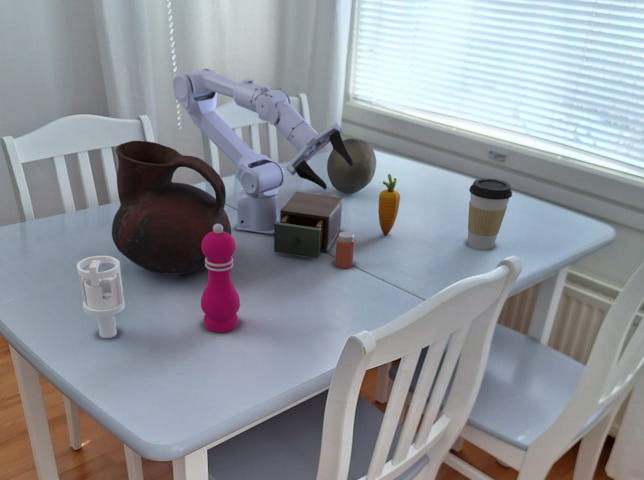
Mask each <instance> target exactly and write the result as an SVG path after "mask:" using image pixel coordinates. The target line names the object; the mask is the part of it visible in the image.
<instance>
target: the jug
mask: <svg viewBox="0 0 644 480" xmlns="http://www.w3.org/2000/svg"><path fill="white" fill-rule="evenodd" d="M115 154H116V156H117V161H118V162H117V165H118V168H117V172H116V188H117V194H118V199H119V207H118V210H117V211H116V213H115V215H114V217H113V220H112V225H111V238H112V241H113V244H114V246H116V249H117V250H118V251H119V253H120V254H122V255H123V256H124V257H125V258H126V259H127V260H129V261H130V262H132V263H134V264H135V265H136V266H139V267H140V268H142V269H145V270H147V271H149V272H153V273H157V274H163V275H185V274H192V273H196V272H198V271H201V270H203V269H205V268H206V267H205V263H206V262H205V258H206V256H205V255H204V254H203V252H202V248H201V245H202V240H203V238H204V237H205V236H206V235H207V234H208V233H210V232H212V231H213V226H214V225H215V224H221V225H222V226H223V231H224V232H227V233H229V234H230V235H231V236H232V226H231V222H230V219H229V216H228V214H227V212H226V210H225V205H226V197H227V191H226V186H225V185H226V184H225V182H224V181H223V179H222V177H221V176H220V174H219V173H218V172H217V171H216V170H215V168H214V167H212V166H211V165H210V164H209V163H207V162H206V161H205V160H204V159H201V158H200V157H197V156H193V155H186V154H184V155H183V154H181V152H179V151H178V150H176V149H175V148H173V147H170V146H167V145H163V144H161V143H157V142H155V141H154V142H153V141H148V140H147V141H146V140H130V141H127V142H123V143H120V144H118V145H117V146H116V147H115ZM178 168H187V169H191V170H193V171H195V172H196V173H198V174H199V175H200V176H201V177H202V178H203V179H205V180H206V182H208V183H209V185H210V186H211V187H212V188H213V192H214V195H215V197H214V196H213V195H212V194H211V193H209V192H208V191H206V190H203V189H202V188H199V187H197V186H195V185H192V184H189V183H183V182H176V181H175V182H173V177H174V174H175V172H176V171H177V169H178Z"/></svg>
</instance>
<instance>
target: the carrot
mask: <svg viewBox="0 0 644 480" xmlns="http://www.w3.org/2000/svg"><path fill="white" fill-rule="evenodd" d="M387 179H388V181H386V180H383V181H382V184H383V185H385V186H386V188H387V189H386V188H385V189H384V190H382V191H381V192H380V193H379V195H378V197H379V198H378V222H379V227H380V230H381V233H382V235H383V236H384V237H386V236H387V235H389V233H390V232H391V230H392V229H393V228H394V226H395V223H396V219H397V217H398V213H399V208H400V207H399V206H400V200H401V194H400V193H399V192H398V191H397V190H396V189H395V187H396V185H397V177H394V178H393V177H392V174H391V173H388V174H387Z"/></svg>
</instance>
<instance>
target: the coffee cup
mask: <svg viewBox="0 0 644 480" xmlns="http://www.w3.org/2000/svg"><path fill="white" fill-rule="evenodd" d="M468 191H469V193H470V199H469V202H468V218H467V219H468V220H467V230H468V231H467V245H468V246H469V247H470V248H473V249H475V250H481V251H483V250H484V251H486V250H491V249H493V248H494V245H495V243H496V240H497V236H498V234H499V233H500V230H501V227H502V223H503V221H504V217H505V214H506V211H507V209H508V203H509V200H510V198H511V197H512V196H513V191H512V185H511V184H510V183H508V182H507V181H504V180H501V179H496V178H489V177H488V178H483V177H482V178H477V179H475V180H474V181H473V183H472V184H471V185H470V187H469V189H468Z"/></svg>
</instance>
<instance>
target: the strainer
mask: <svg viewBox="0 0 644 480" xmlns="http://www.w3.org/2000/svg"><path fill="white" fill-rule="evenodd" d="M101 263H102V264H103V263H104V264H105V263H106V264H111V265H113V266H114V267H112V268H111V269H107V270H101V271H99V267H100V265H101ZM87 266H88V269H87V270H86V269H85V270H84V268H85V267H87ZM76 270H77V274H78V279H79V280H78V281H79V286H80V287H79V288H80V293H81V298H82V307H83V311H84V313H85V314H86V315H88V316H90V317H91V316H92V317H96V320H97V326H98V334H99V337H100V338H102V339H111V338H114V337H116V336H117V335H118V331H117V323H116V316H115V315H117V314H120V313H121V312H122V311H123V310H125V307H126V304H125V303H126V301H125V297H124V289H123V281H122V280H123V279H122V271H121V263H120V260H119V259H118V258H117V257H114V256H111V255H94V256H88V257H85V258H83V259H81V260H80V261H78V262H77V264H76Z"/></svg>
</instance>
